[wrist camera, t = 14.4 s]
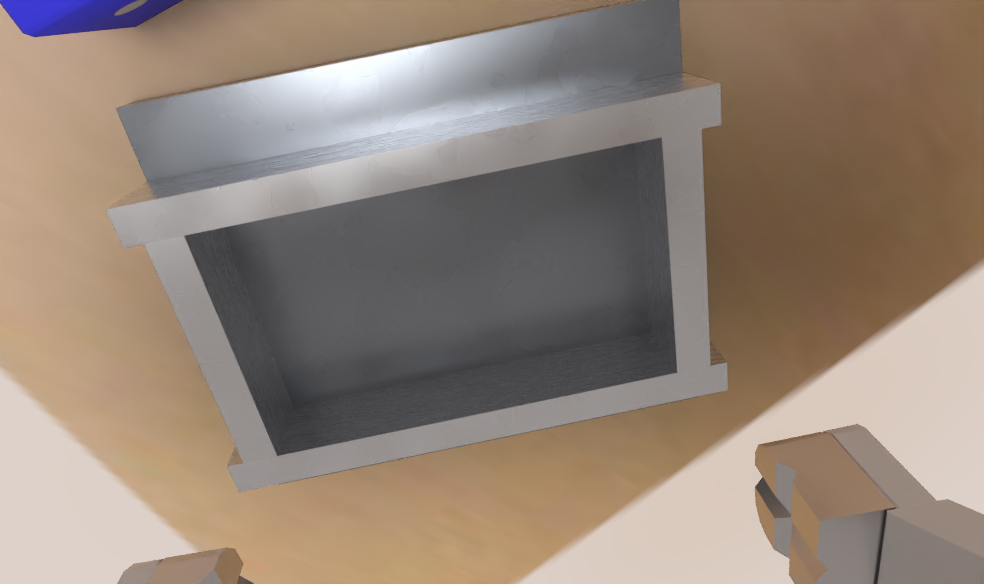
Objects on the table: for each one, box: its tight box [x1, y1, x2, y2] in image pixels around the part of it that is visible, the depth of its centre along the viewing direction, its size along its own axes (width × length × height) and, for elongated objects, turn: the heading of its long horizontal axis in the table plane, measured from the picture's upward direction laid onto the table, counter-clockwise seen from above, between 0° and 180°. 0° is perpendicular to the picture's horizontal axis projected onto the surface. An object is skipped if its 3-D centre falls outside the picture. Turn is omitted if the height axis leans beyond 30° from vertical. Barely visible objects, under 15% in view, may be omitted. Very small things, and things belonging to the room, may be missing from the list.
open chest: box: [106, 0, 728, 492], centre depth 19 cm, size 15×13×4 cm
